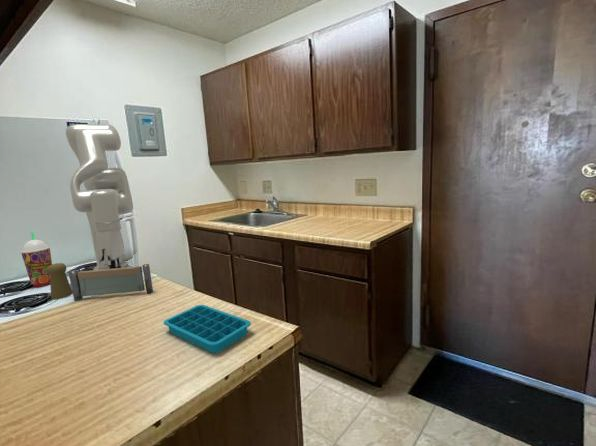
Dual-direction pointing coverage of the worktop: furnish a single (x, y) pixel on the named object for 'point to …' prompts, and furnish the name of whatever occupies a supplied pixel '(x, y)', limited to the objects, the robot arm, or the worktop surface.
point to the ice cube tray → (208, 327)
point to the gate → (111, 281)
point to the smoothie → (37, 261)
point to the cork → (59, 281)
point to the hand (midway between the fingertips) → (116, 277)
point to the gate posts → (77, 289)
